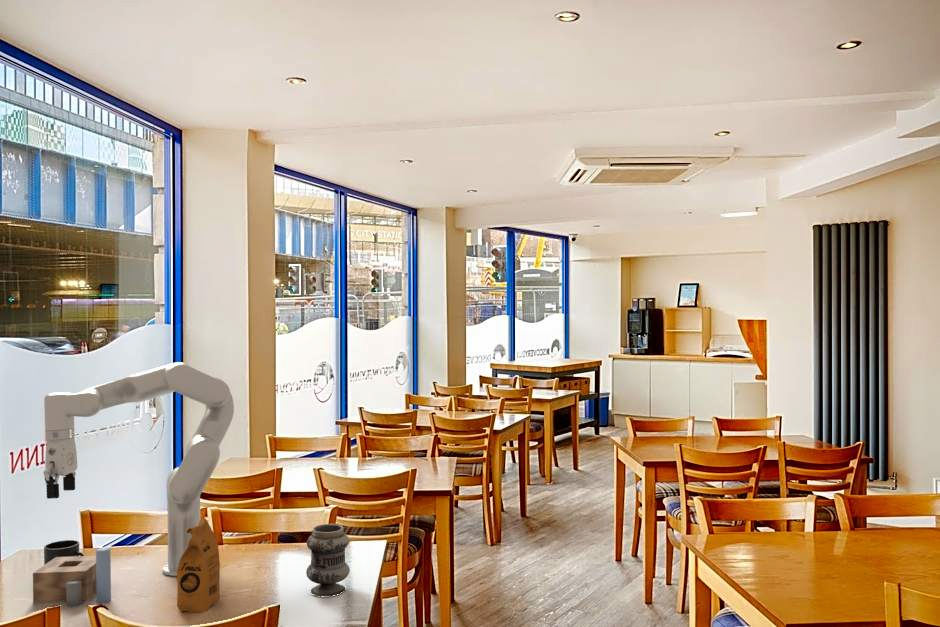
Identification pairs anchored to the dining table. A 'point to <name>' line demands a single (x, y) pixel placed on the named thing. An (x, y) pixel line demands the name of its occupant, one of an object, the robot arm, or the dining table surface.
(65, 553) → the mug
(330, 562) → the apothecary jar
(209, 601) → the coffee package
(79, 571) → the hole block
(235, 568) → the dining table surface
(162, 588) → the dining table surface
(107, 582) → the tall pin
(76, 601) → the short pin
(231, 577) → the dining table surface
